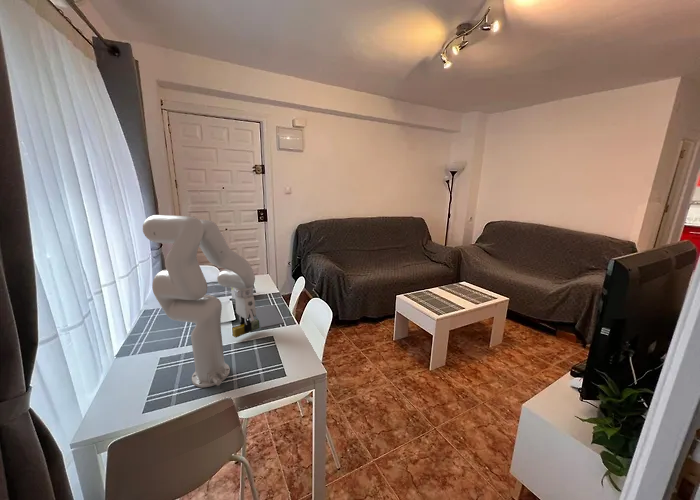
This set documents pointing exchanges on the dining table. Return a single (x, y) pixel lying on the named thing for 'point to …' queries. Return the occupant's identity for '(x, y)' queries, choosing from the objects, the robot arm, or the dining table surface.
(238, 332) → the medication box
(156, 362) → the dining table surface
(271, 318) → the placemat
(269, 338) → the dining table surface
